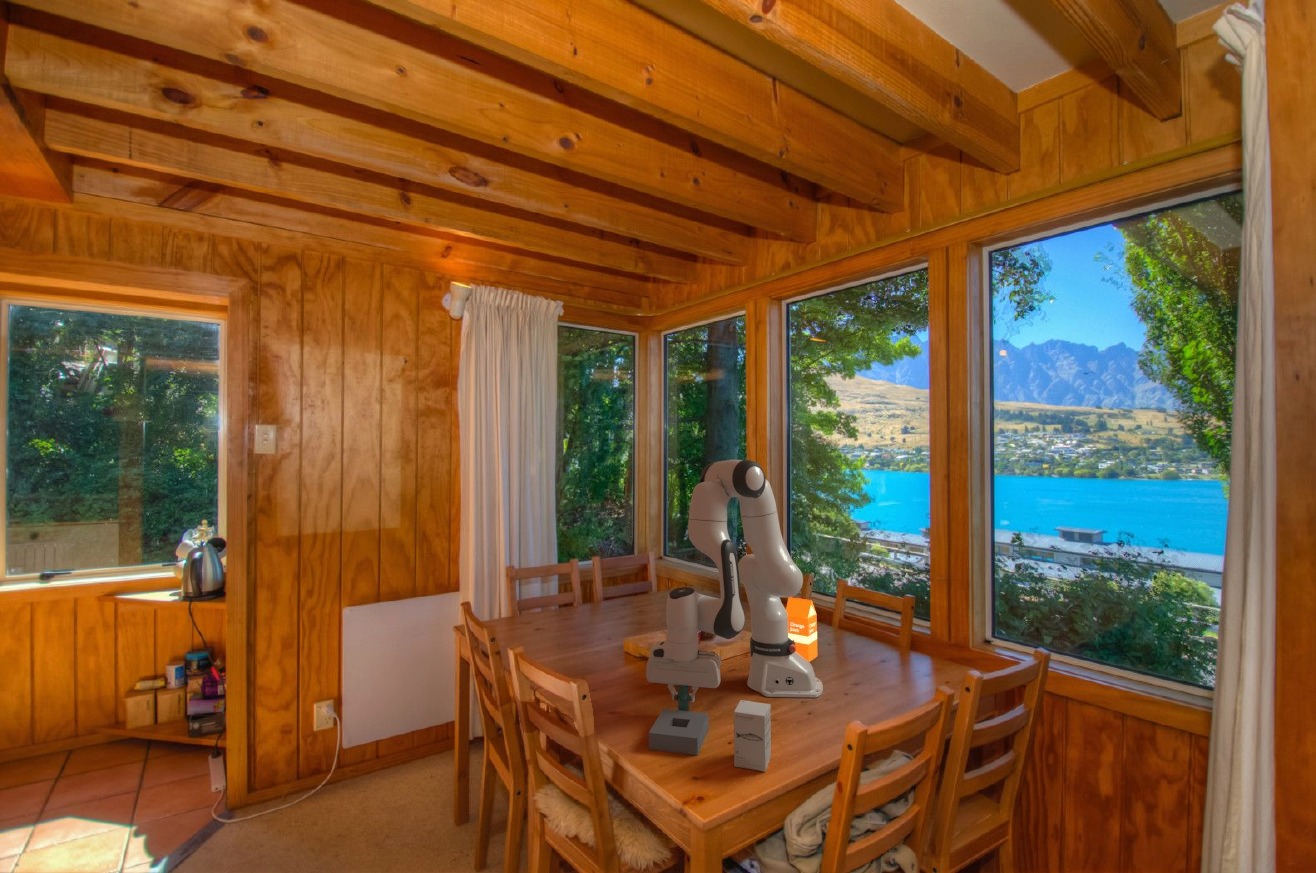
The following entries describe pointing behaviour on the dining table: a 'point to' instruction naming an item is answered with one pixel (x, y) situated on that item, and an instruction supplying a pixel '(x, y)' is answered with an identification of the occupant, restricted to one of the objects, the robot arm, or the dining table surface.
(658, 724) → the hole block
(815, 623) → the orange juice
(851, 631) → the dining table surface
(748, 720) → the supplement box
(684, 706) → the teal peg
